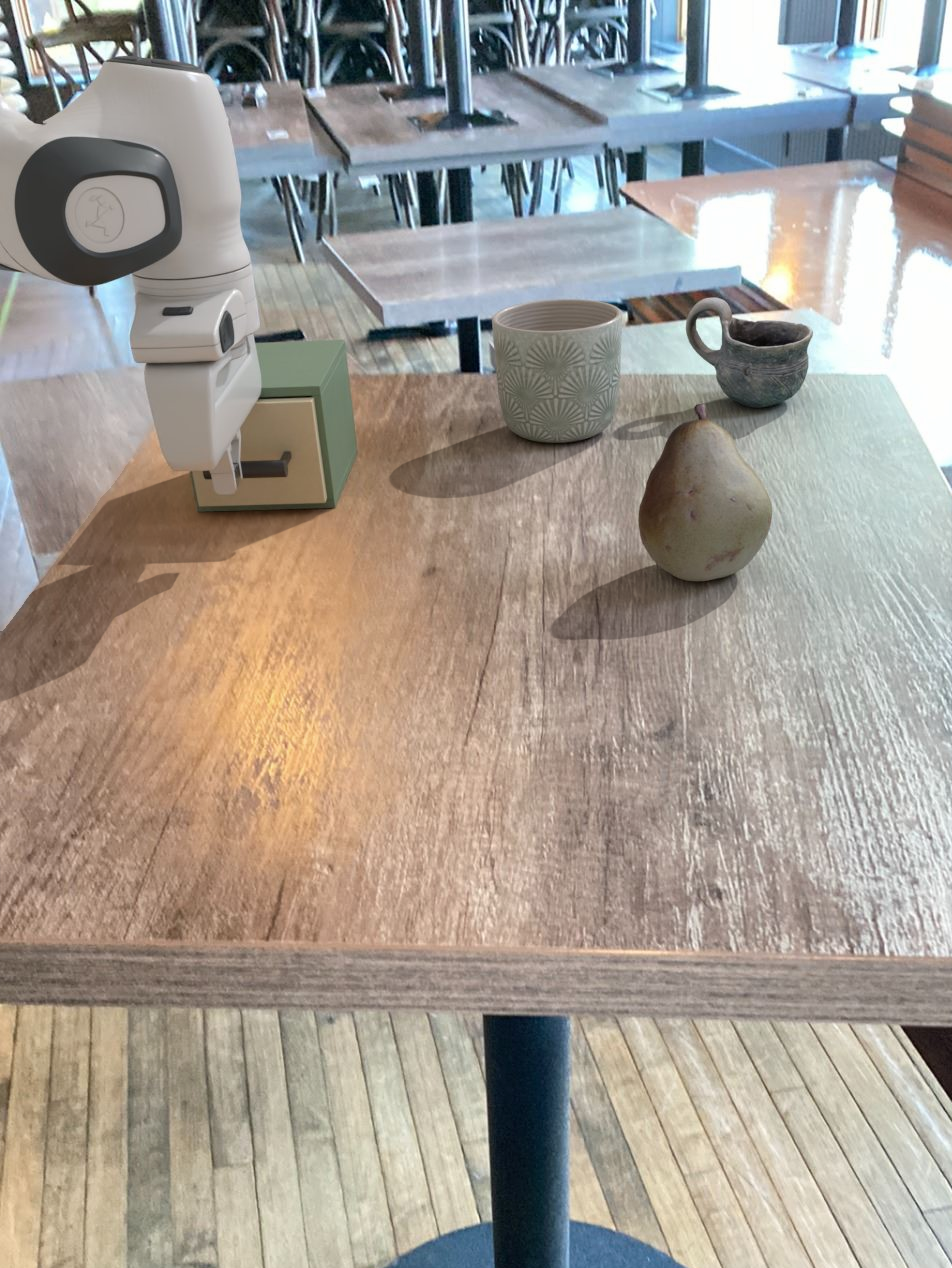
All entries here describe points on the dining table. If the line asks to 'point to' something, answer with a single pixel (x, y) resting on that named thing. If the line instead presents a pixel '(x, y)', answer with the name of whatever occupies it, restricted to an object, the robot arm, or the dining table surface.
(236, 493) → the drawer
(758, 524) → the fruit
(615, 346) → the planter
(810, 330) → the mug
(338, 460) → the cabinet
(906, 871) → the dining table surface
